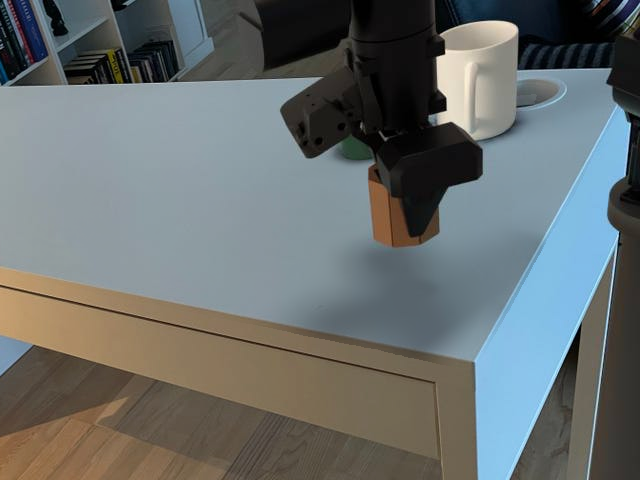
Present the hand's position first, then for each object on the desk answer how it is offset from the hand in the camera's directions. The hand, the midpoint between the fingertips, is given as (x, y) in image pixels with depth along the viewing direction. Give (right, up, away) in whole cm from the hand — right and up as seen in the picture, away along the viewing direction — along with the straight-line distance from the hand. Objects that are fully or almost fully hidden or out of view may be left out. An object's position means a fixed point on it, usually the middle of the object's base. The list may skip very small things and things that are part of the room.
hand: (405, 218), depth 64 cm
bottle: (+4, +13, +27) cm, 30 cm away
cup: (+15, +14, +23) cm, 31 cm away
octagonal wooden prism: (0, -1, +1) cm, 1 cm away
